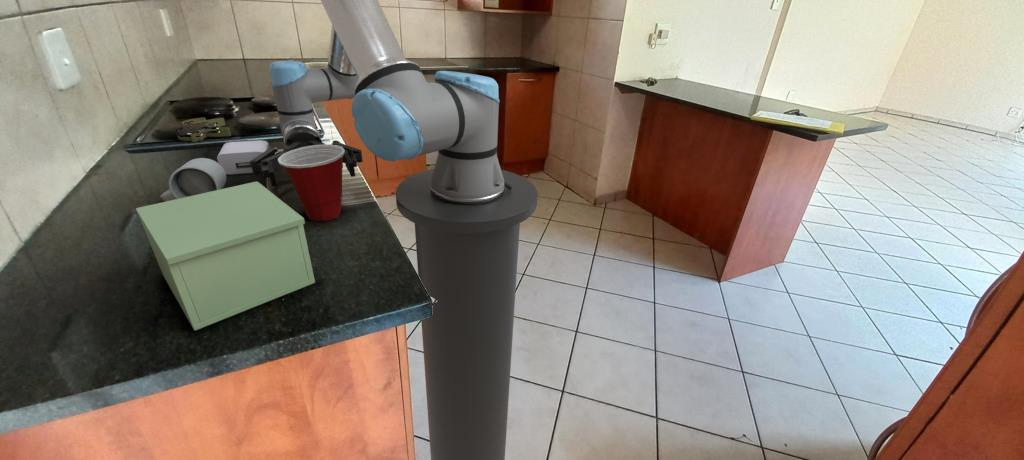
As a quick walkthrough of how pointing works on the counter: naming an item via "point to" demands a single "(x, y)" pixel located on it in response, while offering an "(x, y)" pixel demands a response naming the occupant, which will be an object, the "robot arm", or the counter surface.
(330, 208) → the plastic cup
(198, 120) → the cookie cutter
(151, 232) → the bin lid
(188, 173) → the ceramic mug
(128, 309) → the counter surface
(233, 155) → the charger
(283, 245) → the bin
